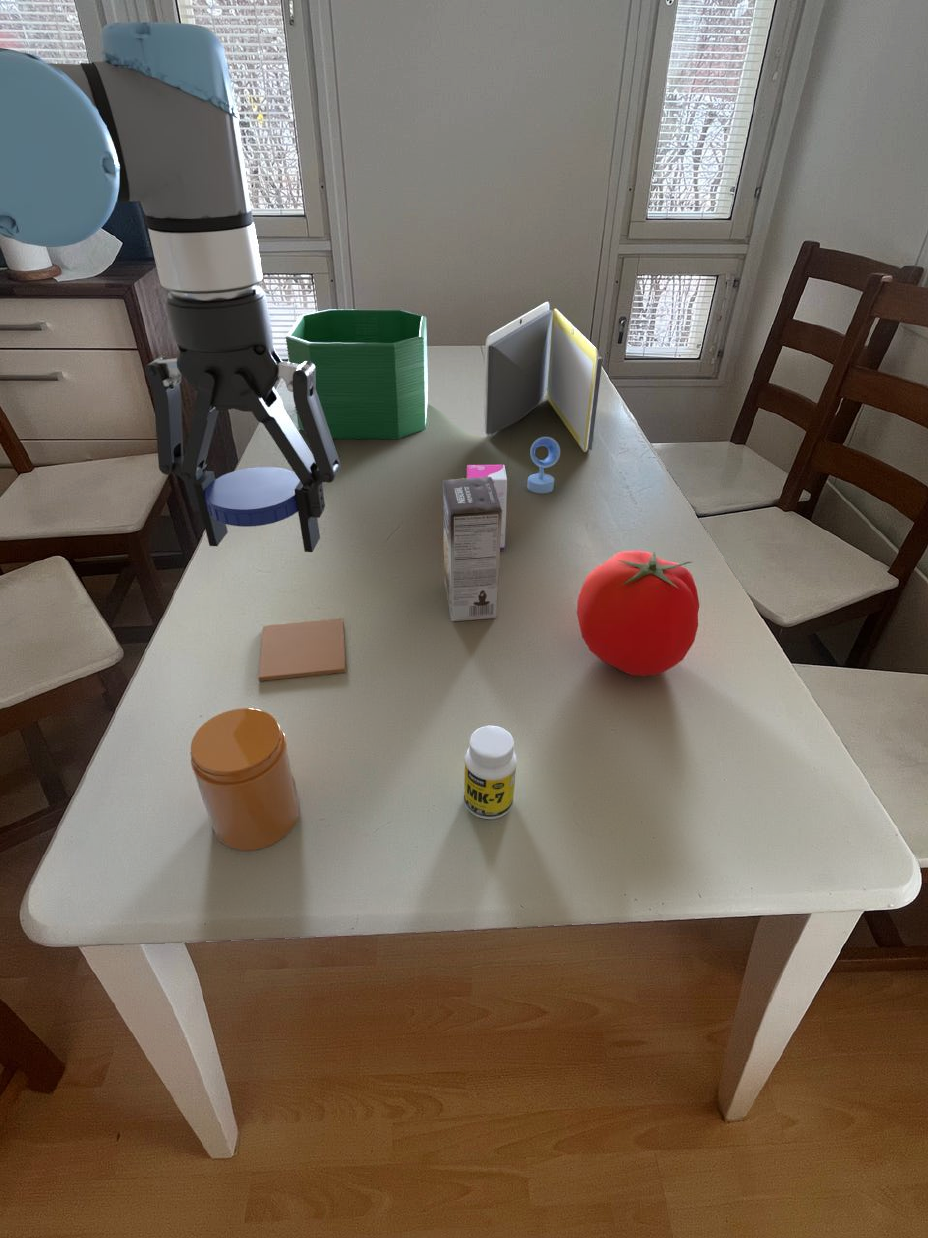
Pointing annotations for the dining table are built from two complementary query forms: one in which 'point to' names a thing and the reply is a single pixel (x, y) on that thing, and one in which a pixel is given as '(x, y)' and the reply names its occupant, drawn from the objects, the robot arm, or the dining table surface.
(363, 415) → the planter
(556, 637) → the dining table surface
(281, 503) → the lid
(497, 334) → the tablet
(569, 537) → the dining table surface
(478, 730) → the supplement bottle
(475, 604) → the coffee box
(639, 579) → the tomato
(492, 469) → the supplement box
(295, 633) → the coaster
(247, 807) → the jar
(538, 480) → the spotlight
